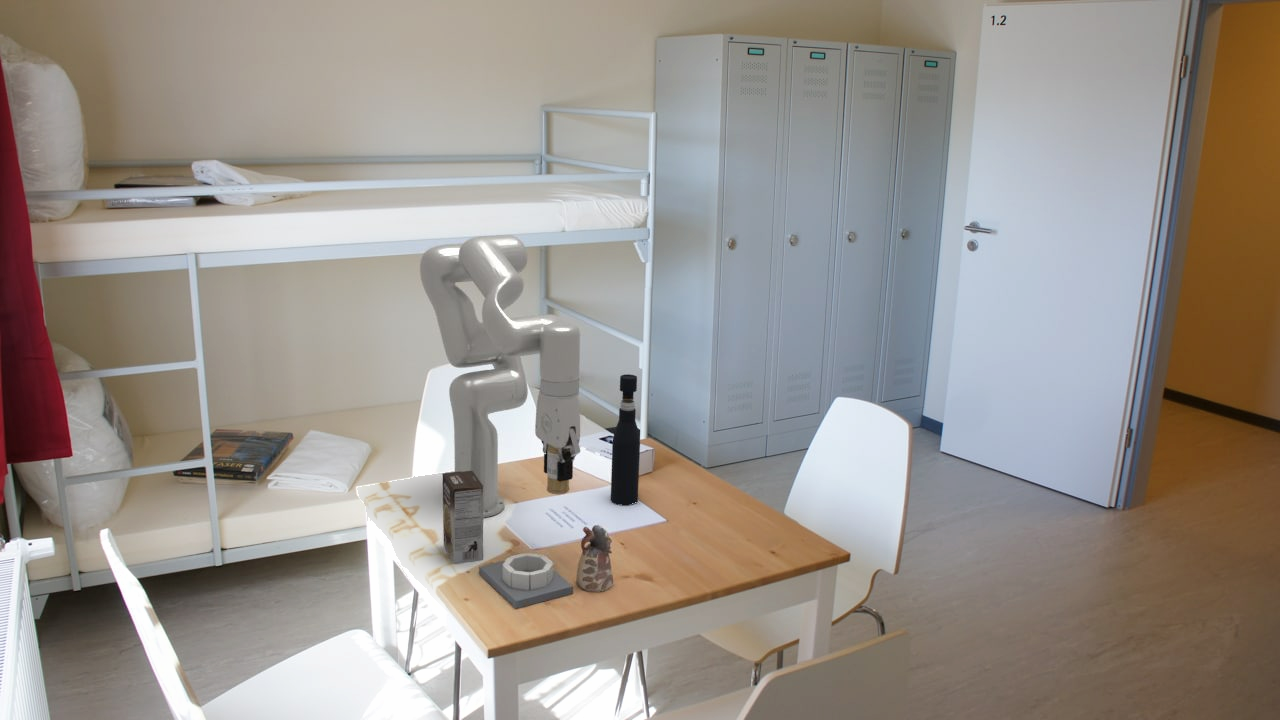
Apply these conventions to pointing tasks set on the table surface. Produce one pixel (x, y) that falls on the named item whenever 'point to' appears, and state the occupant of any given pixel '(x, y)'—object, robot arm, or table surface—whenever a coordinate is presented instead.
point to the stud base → (524, 594)
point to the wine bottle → (626, 447)
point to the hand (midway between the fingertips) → (558, 475)
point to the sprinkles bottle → (555, 472)
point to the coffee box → (463, 516)
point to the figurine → (595, 561)
